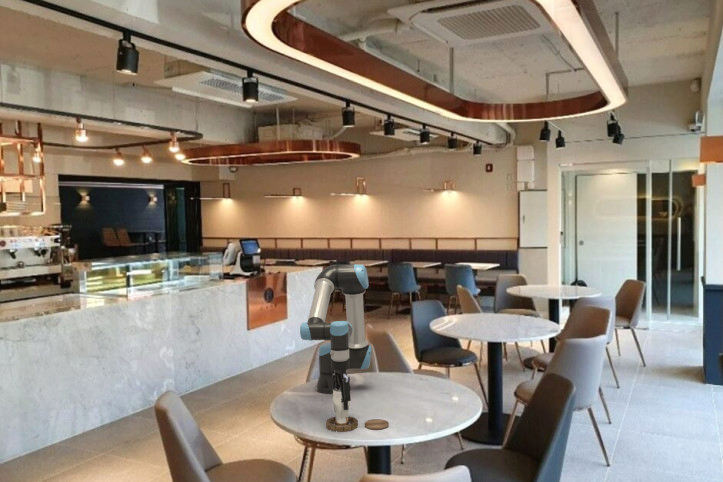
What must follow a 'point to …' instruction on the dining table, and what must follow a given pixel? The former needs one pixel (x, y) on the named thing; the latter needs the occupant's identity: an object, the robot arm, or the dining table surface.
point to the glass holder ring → (342, 428)
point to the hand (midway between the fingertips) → (341, 414)
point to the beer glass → (339, 408)
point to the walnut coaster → (376, 424)
